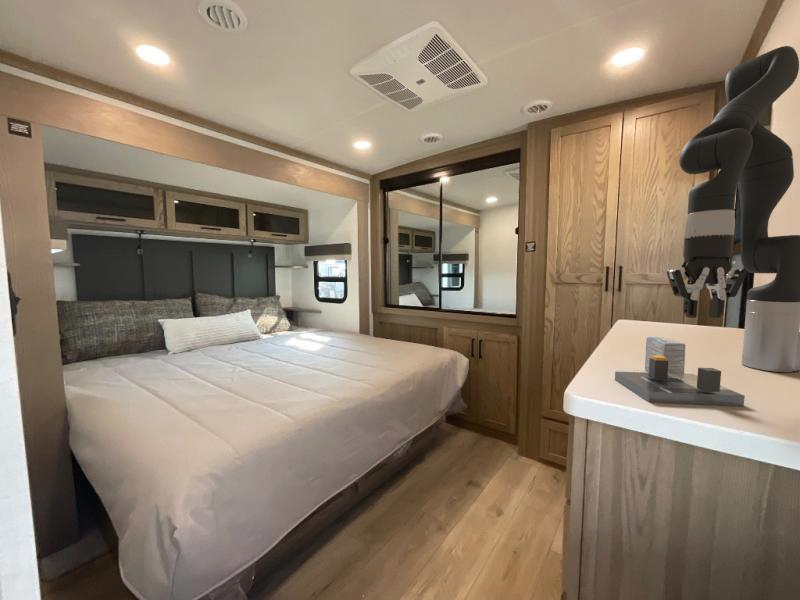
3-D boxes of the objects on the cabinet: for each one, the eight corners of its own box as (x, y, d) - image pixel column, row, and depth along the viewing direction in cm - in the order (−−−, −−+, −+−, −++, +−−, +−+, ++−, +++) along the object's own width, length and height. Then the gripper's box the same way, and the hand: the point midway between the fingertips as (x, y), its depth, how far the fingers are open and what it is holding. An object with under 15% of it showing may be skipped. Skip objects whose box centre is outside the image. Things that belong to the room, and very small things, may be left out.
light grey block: (684, 381, 75) (686, 343, 74) (662, 380, 76) (664, 343, 75) (664, 371, 83) (666, 337, 82) (644, 370, 83) (645, 336, 83)
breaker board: (692, 382, 74) (693, 373, 74) (743, 406, 61) (744, 395, 61) (614, 379, 76) (615, 371, 76) (648, 402, 63) (649, 391, 63)
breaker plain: (711, 388, 64) (712, 368, 63) (719, 392, 62) (721, 371, 61) (696, 387, 64) (698, 367, 64) (704, 391, 62) (706, 370, 62)
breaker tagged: (661, 376, 71) (662, 355, 70) (667, 379, 69) (668, 358, 68) (648, 376, 71) (649, 355, 71) (654, 379, 69) (655, 357, 69)
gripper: (732, 236, 71) (725, 315, 72) (659, 237, 73) (654, 314, 74) (765, 232, 63) (757, 320, 65) (682, 233, 65) (677, 319, 67)
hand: (702, 317), depth 70 cm, fingers open, 4 cm apart
